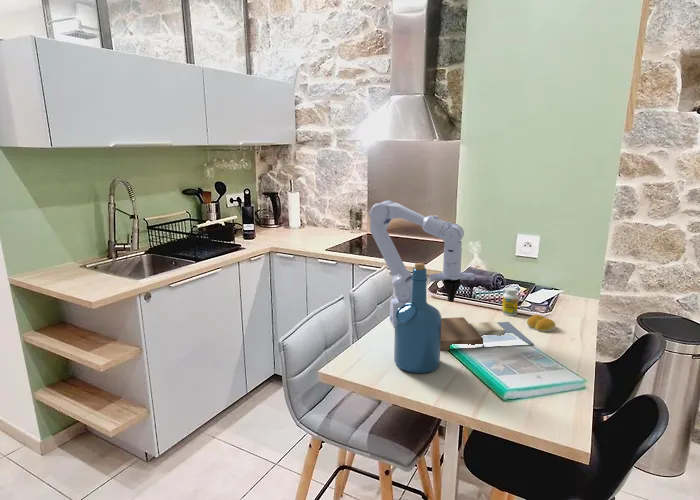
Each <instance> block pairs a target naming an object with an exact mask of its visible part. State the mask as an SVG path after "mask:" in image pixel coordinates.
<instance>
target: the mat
mask: <svg viewBox="0 0 700 500" xmlns="http://www.w3.org/2000/svg"><path fill="white" fill-rule="evenodd" d="M496 322H497V321H496ZM497 323H498V324H499V325H500V326H501V327H502V328H503V329H504V330H505V333H513V334H515V335H516V336H518V337H519V338H520V339H522V340H523V341H525V342H526V343H528V344H530V345H529V346H534V344H535V343H534V342H532V340H530V339H529V338H528V337H527V336H525V335H524V334H523V333H522V332H521V331H519V330H518V328H516V327H515V326H514V325H513V324H512V323H510V322H509V321H499V322H497Z"/></svg>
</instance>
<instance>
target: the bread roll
mask: <svg viewBox="0 0 700 500" xmlns="http://www.w3.org/2000/svg"><path fill="white" fill-rule="evenodd" d="M526 324H527V326H528V327H529V328H531V329H533V330H535V331H537V332H542V333H551V332H554V330H555V328H556V323H555V321H554V320H552V319H550V318H546V317H544V316H542V315H540V314H535V315H531V316H530V317H528V318H527V319H526Z"/></svg>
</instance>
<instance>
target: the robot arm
mask: <svg viewBox="0 0 700 500" xmlns="http://www.w3.org/2000/svg"><path fill="white" fill-rule="evenodd" d="M368 217H369V219H370V220H369V223H370V225H369V228H370V229H369V230H370V233H371V236H372V238H373V240H374V241H375V244H376V246H377V248H378V249H379V251H380V254H381V255H382V258H383V260H384V261H385V264H386V265H387V267H388V270H389V271H390V273H391V275H392V286H393V289H394V295H395V297H396V298H391V299H390V300H389V321H390V323H391V324H392V327H394V328H395V316H396V312H397V310H398V309H399V308H400V307H401V306H403V305H405V304H407V303H410V301H411V292H412V280H411V279H412V272H411V271H409V270H408V269H407V268H406V266H405V264H404V262H403V260H402V258H401V256H400V254H399V251H398V250H397V248H396V245H395V244H394V242H393V240H392V238H391V235H390V234H389V232H388V230H387V229H388V227H389V224H390V222H391V221H392V220H393V219H403V220H405V221H407V222H410V223H413V224H415V225H418V226H420V227H421V228H422V230H423V232H425V233H427V234H429V235H432V236H434V237H437V238H439V239H441V240H442V241H443V242H444V244H443V245H444V246H443V259H442V260H443V261H442V265H443V266H442V272H440V273H432V274H429V281H430V282H431V283H432V282H439V281H442V284H443V286H444V288H445V292H446V296H447V301H448V302H449V303H450V302H451V303H452V302H454V301H455V298H456V294H457V293H458V290H459V288H460V287H461V286H462V281H463V280H465V281H467V280H468V281H469V280H470V281H474V280H475V278H474V277H475V274H474V273H473V272H461V271H462V255H463V254H462V251H463V248H462V243H463V241H462V239H463V237H464V236H465V231H464V228H463V227H462V226H460V225H459V224H458V223H452V222H451V221H445V220H442V219H440V218H439V216H438V215H436V214H434V215H432V214H431V215H428V216H425V215H422V214H420V213H418V212H416V211H414V210H412V209H411V208H408V207H406V206H404V205H402V204H400V203H398V202H394V201H393V200H390V199H388V200H384V201H381V202H376V203H374V204H373V205H372V207H371V208H370V211H369V213H368Z"/></svg>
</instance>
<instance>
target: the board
mask: <svg viewBox="0 0 700 500" xmlns="http://www.w3.org/2000/svg"><path fill="white" fill-rule="evenodd" d="M452 344H468V345H469V344H471V345H475V344H483V338H482V337H481V336H480V335H479V334H478V333H477V331H476V330H475V329H474V328H473V327H472V326H471V325H470V322H469V321H468V320H467V319H466V318H465V317H464V316H461V317H444V318H443V317H442V320H441V344H440V351H447V350H449V349H450V345H452ZM449 351H450V350H449Z"/></svg>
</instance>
